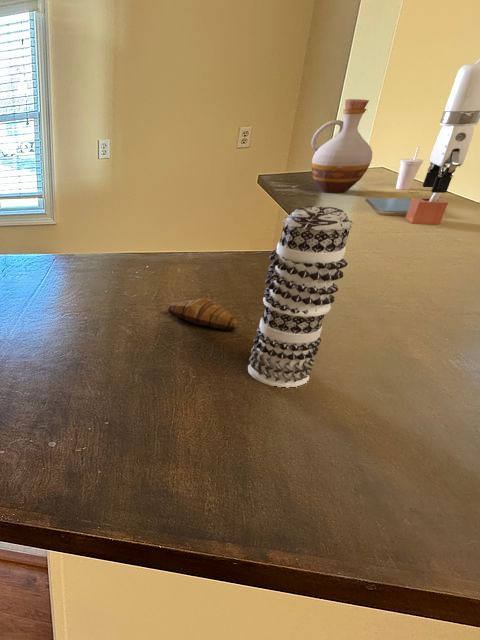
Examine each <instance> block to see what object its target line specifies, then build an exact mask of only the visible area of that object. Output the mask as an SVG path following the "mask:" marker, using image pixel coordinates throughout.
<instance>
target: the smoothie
mask: <svg viewBox="0 0 480 640" xmlns="http://www.w3.org/2000/svg"><path fill="white" fill-rule="evenodd" d="M419 149H420V146H417V147H416V151H415V153H414V157H413V158H401V159H400V161H399V164H400V165H399V170H398V175H397V182H396V187H395V190H402V191H407V190H409V189H410V188H411V186H412V183H413V182H414V179H415V178H416V177H417V173H418V171H419V169H420V167H421V165H422V164H423V163H424V159H421V158H417V156H418V153H419Z"/></svg>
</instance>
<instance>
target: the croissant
mask: <svg viewBox="0 0 480 640" xmlns="http://www.w3.org/2000/svg"><path fill="white" fill-rule="evenodd" d="M167 311H168V312H167V313H169V314H170V315H171V316H173V317H176V318H178V319H181V320H183V321H186V322H189V323H191V324H193V325H197V326H202V327H209V328H212V329H215V330H216V329H217V330H222V331H235V330H236V329H237V328H238V326H239V321H238V320H237V318H236V317H234V315H233V314H232V313H230V312H229V311H227V310H226V308H223V307H222V306H221V305H220V303H219V302H218V301H216V300H214V299H211V298H207V297H202V298H196V299H192V300H183V301H177V302H173V303H169V304H168V308H167Z"/></svg>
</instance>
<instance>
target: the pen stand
mask: <svg viewBox="0 0 480 640" xmlns="http://www.w3.org/2000/svg"><path fill="white" fill-rule="evenodd" d="M431 197H432V196H431ZM431 197H429V196H413V197H412V198H411V199H412V201H411V204H410V206H409V209H408V212H407V215H405V219H406V220H407V221H408V222H410V224H413V225H414V224H419V225H440V224H441V222H442V219H443V217H444V215H445V212H446V210H447V207H448V204H449V202H448V201H447V200H446V199H443V198H442V197H441V196H440V197H439V198H438V200H437V201H429V200H430V199H431Z"/></svg>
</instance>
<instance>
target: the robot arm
mask: <svg viewBox="0 0 480 640" xmlns="http://www.w3.org/2000/svg"><path fill="white" fill-rule="evenodd" d="M479 120H480V58H479V59H478V60H477V61H476V62H475V63H467V64H465V65H462V66H461V67H460V68H459V69H458V71H457V73H456V76H455V79H454V81H453V85H452V88H451V90H450V93H449V96H448V99H447V102H446V104H445V107H444V110H443V113H442V116H441V118H440V122H439V123H438V124H439V126H441V128H440V130H439V132H438V135H437V137H436V140H435V143H434V144H433V147H432V151H431V153H430V157H429V161H430V163H429V167H428V168H427V172H426V174H425V177H424V180H423V183H422V188H431V190H430V192H431V193H432V194H434V193H441V194H445V193H447V192H448V190H449V188H450V187H449V186H450V184H451V181H452V178H453V177H454V175H455V172H456V169H457V168H458V167H461V166H463V165H464V163H465V160H466V157H467V155H468V152H469V149H470V144H471V141H472V138H473V134H474V130H475V126H477V125H478V123H479ZM453 174H454V175H453Z"/></svg>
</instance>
